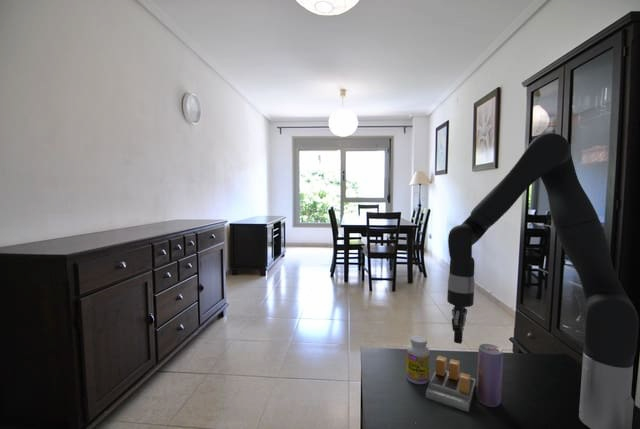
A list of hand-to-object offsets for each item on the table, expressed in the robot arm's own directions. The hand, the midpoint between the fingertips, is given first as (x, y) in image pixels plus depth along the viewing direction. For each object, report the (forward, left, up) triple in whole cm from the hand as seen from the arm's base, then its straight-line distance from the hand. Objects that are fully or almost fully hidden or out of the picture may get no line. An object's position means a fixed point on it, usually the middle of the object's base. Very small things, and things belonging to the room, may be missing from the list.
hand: (458, 342), depth 102 cm
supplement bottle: (+10, +10, -11) cm, 17 cm away
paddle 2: (0, +7, -8) cm, 10 cm away
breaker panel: (0, +11, -10) cm, 15 cm away
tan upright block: (-4, +13, -8) cm, 16 cm away
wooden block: (+4, +7, -8) cm, 11 cm away
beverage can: (-10, +10, -11) cm, 17 cm away
